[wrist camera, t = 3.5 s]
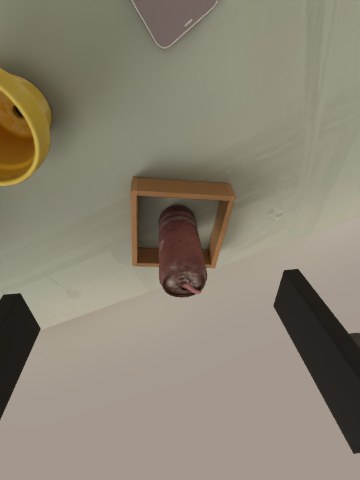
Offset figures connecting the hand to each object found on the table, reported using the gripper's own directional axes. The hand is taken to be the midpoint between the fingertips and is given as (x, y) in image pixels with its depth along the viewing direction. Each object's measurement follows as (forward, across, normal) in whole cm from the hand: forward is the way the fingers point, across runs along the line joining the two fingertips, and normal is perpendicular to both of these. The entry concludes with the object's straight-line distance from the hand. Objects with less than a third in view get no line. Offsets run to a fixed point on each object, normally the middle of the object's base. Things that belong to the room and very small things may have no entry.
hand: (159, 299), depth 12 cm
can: (+27, +3, -10) cm, 29 cm away
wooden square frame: (+26, +3, -10) cm, 28 cm away
